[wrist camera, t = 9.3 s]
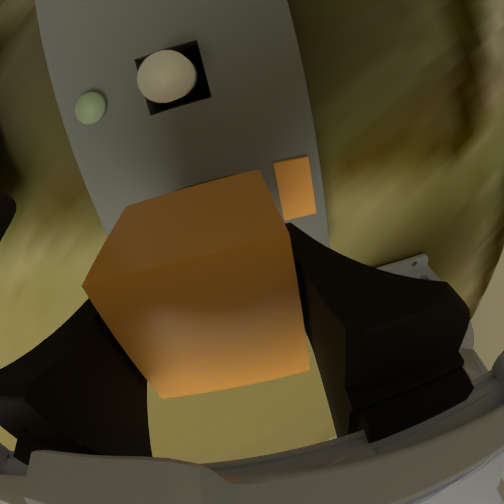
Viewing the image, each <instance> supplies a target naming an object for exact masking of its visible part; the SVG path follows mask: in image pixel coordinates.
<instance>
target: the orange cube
mask: <svg viewBox="0 0 504 504" xmlns="http://www.w3.org/2000/svg"><path fill="white" fill-rule="evenodd" d="M82 287H83V289H84V290H85V292H86V294H87V295H88V297H89V299H90V300H91V302H92V303H93V305H94V307H95V308H96V310H97V311H98V313H99V314H100V316H101V317H102V319H103V320H104V322H105V323H106V325H107V326H108V328H109V329H110V331H111V332H112V334H113V335H114V337H115V338H116V339H117V341H118V342H119V344H120V345H121V346H122V348H123V349H124V351H125V352H126V353H127V355H128V356H129V357H130V359H131V360H132V361H133V363H134V364H135V365H136V367H137V368H138V369H139V371H140V372H141V373H142V374H143V376H144V377H145V378H146V379H147V381H148V382H149V383H150V384H151V386H152V387H153V388H154V389H155V391H156V392H157V393H158V394H159V395H160V397H161V398H170V397H178V396H186V395H193V394H199V393H206V392H212V391H218V390H223V389H229V388H234V387H239V386H245V385H249V384H254V383H259V382H264V381H268V380H272V379H277V378H281V377H285V376H289V375H293V374H297V373H301V372H305V371H309V370H310V363H309V356H308V349H307V342H306V335H305V328H304V321H303V314H302V308H301V301H300V295H299V288H298V282H297V276H296V270H295V264H294V258H293V252H292V246H291V241H290V235H289V232H288V230H287V228H286V225H285V223H284V221H283V219H282V217H281V215H280V213H279V210H278V208H277V206H276V204H275V202H274V200H273V198H272V196H271V194H270V192H269V189H268V187H267V185H266V183H265V181H264V179H263V177H262V175H261V173H260V171H259V169H257V170H253V171H249V172H245V173H241V174H237V175H233V176H229V177H225V178H221V179H217V180H213V181H210V182H206V183H202V184H199V185H195V186H191V187H188V188H184V189H181V190H177V191H174V192H170V193H167V194H164V195H160V196H157V197H154V198H150V199H147V200H144V201H141V202H138V203H134V204H131V205H128V206H126V207H125V209H124V211H123V212H122V214H121V216H120V217H119V219H118V221H117V222H116V224H115V226H114V227H113V229H112V231H111V232H110V234H109V236H108V238H107V240H106V241H105V243H104V245H103V247H102V248H101V250H100V252H99V254H98V256H97V258H96V260H95V261H94V263H93V265H92V267H91V269H90V271H89V273H88V275H87V277H86V279H85V281H84V283H83V285H82Z"/></svg>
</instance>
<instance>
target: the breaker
mask: <svg viewBox="0 0 504 504" xmlns="http://www.w3.org/2000/svg"><path fill="white" fill-rule="evenodd" d="M197 80H198V72H197V69H196V67H195V66H194V64H193V63H192V62H191V61H189V60H188V59H187V58H186V57H185V56H184V55H182V54H181V53H179V52H176V51H173V50H162V51H158V52H155V53H153V54H151V55H150V56H148V57H147V58H146V59H145V60H144V61H143V63H142V64H141V66H140V68H139V70H138V74H137V84H138V87H139V89H140V91H141V93H142V94H143V95H144V96H145V97H146V98H147V99H149V100H151V101H154V102H158V103H167V102H171V101H174V100H176V99H179V98H181V97H183V96H186V95H187V94H189V93H190V92H191V91H192V90H193V89H194V88H195V86H196V84H197Z"/></svg>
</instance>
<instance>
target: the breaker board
mask: <svg viewBox="0 0 504 504" xmlns="http://www.w3.org/2000/svg"><path fill="white" fill-rule="evenodd" d="M35 4H36V11H37V17H38V23H39V29H40V34H41V39H42V44H43V49H44V54H45V58H46V62H47V66H48V71H49V75H50V78H51V82H52V86H53V90H54V93H55V97H56V100H57V104H58V107H59V110H60V114H61V117H62V120H63V123H64V126H65V129H66V132H67V135H68V138H69V141H70V144H71V147H72V150H73V153H74V155H75V158H76V161H77V164H78V166H79V169H80V172H81V174H82V177H83V179H84V182H85V184H86V187H87V189H88V192H89V194H90V197H91V199H92V201H93V204H94V206H95V208H96V211H97V213H98V215H99V218H100V220H101V222H102V224H103V227H104V229H105V231H106V233H107V235H108V236H109V234H110V232H111V231H112V229H113V227H114V226H115V224H116V222H117V221H118V219H119V217H120V216H121V214H122V212H123V211H124V209H125V207H126V206H128V205H131V204H134V203H138V202H141V201H144V200H147V199H150V198H154V197H157V196H160V195H164V194H167V193H170V192H174V191H177V190H181V189H184V188H185V187H188V186H192V185H195V184H199V183H202V182H206V181H210V180H214V179H217V178H221V177H225V176H229V175H232V176H233V175H237V174H241V173H245V172H249V171H253V170H257V169H259V171H260V173H261V175H262V177H263V179H264V181H265V183H266V185H267V187H268V189H269V192H270V194H271V196H272V198H273V200H274V202H275V204H276V206H277V208H278V210H279V213H280V215H281V217H282V219H283V221H284V223H289V222H291V223H292V224H294V225H295V226H296V227H298V228H299V229H301V230H302V231H303V232H305V233H306V234H308V235H309V236H311V237H312V238H314V239H315V240H317V241H318V242H320V243H321V244H323V245H325V246H326V247H328V248H330V246H329V235H328V225H327V216H326V207H325V199H324V191H323V183H322V175H321V168H320V161H319V154H318V147H317V141H316V135H315V129H314V123H313V117H312V111H311V106H310V100H309V95H308V89H307V84H306V79H305V74H304V70H303V65H302V60H301V55H300V51H299V46H298V42H297V38H296V33H295V29H294V25H293V21H292V17H291V13H290V9H289V5H288V2H287V0H35ZM198 47H199V50H200V54H201V58H202V62H203V66H204V69H205V73H206V77H207V81H208V85H209V89H210V93H211V96H208V97H204V98H200V99H197V100H193V101H189V102H186V103H183V104H179V105H176V106H173V107H170V108H166V109H163V110H161V109H160V106H159V103H158V102H154V101H151V100H149V99H147V98H146V97H145V96H144V95H143V94H142V93H141V91H140V89H139V87H138V84H137V74H138V70H139V68H140V66H141V64H142V63H143V61H144V60H145V59H146V58H147V57H148V56H150V55H151V54H153V53H155V52H158V51H162V50H173V51H176V52H179V53H180V52H183V51H187V50H190V49H194V48H198Z"/></svg>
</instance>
